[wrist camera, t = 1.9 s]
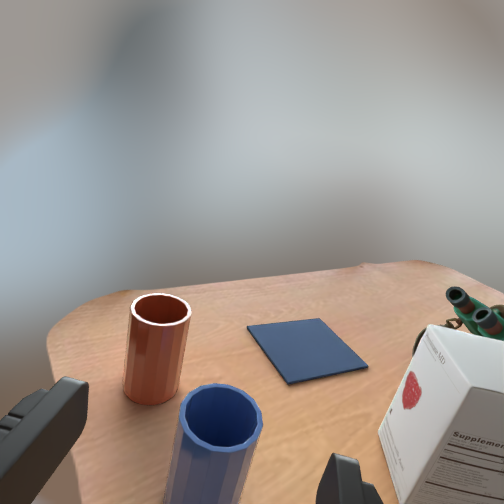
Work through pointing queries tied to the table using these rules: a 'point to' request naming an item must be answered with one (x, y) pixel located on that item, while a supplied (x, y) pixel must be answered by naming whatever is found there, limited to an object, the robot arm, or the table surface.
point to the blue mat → (305, 350)
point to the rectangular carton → (448, 422)
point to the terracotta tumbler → (155, 347)
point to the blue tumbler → (213, 446)
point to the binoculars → (472, 316)
